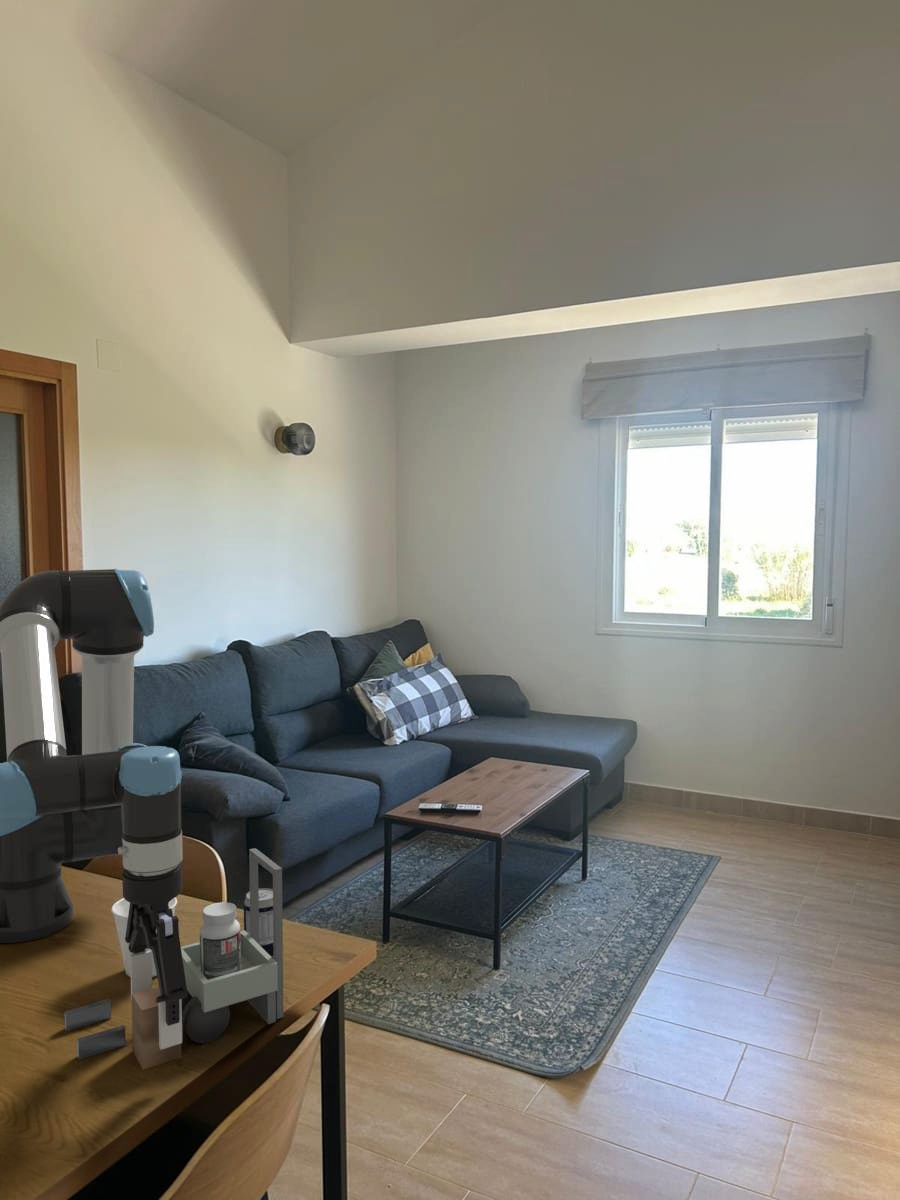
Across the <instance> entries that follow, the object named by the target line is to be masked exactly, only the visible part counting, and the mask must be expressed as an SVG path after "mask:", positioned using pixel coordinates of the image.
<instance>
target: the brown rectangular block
mask: <svg viewBox="0 0 900 1200" xmlns="http://www.w3.org/2000/svg"><path fill="white" fill-rule="evenodd" d="M159 996H161V993H160V988H159V985H157V986H155V987H152V988H151V989H147V990H144V991H140V992H136V993H133V994H132V1000H131V1020H132V1021H131V1028H132V1031H131V1033H132V1053H133V1054H134V1056H135V1057H136V1060H137V1062H138V1063H139V1065H140V1067H141V1069H142V1070H146V1069H149V1068H152V1067H155V1066H159V1065H161V1064H164V1063H167V1062H170V1061H174V1060H176V1059H179V1058H182V1043H180V1044H177V1045H174V1046H171V1047H168V1048H165V1049H162V1050H161V1049H160V1047H159V1009H158V1003H156V1000H155V999H156V998H157V997H159Z"/></svg>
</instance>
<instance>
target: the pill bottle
mask: <svg viewBox="0 0 900 1200" xmlns="http://www.w3.org/2000/svg"><path fill="white" fill-rule="evenodd" d="M237 915H238V914H237V906H236V904H234V903H232V902H226V901H225V902H224V901H223V902H215V903H212V904H209V905H207V906H205V907H204V908H203V910H202V920H203V921H204V923H203V924H202V925H201V926H200V928H199V942H200V971H201V972H202V974H203V975H204V976H205V977H206V979H207V980H209V979H213V978H216V977H220V976H223V975H227V974H230V973H234V972H237V971H241V940H240V938H241V937H240V931H241V925H240V922H239V921H238V920H237V919H236V917H237Z"/></svg>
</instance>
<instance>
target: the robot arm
mask: <svg viewBox="0 0 900 1200" xmlns="http://www.w3.org/2000/svg"><path fill="white" fill-rule="evenodd" d="M154 619H155V617H154V609H153V605H152V598H151V594H150V590H149V586H148V583H147V580H146V578H145V576H144V575H143V574H142V573H141V572H140V571H139V570H132V569H127V570H126V569H118V568H112V569H110V568H109V569H82V570H81V569H78V570H76V569H74V570H59V569H57V570H55V569H54V570H44V571H41V572H37V573H35V574H32V575H30V576H29V577H26V578H24V579H23V580H22V581H20V582H19V583H18V584H16V585H15V586H13V588H11V590H10V591H9V592H8V593H7V594H6V595H5V597H3V599H2V601H1V602H0V659H1V673H2V676H1V677H2V694H3V695H2V696H3V709H4V710H3V712H4V713H3V714H4V726H5V727H4V728H5V729H4V730H5V744H6V745H5V747H6V748H5V749H6V761H5V762H0V944H14V943H15V944H16V943H24V942H29V941H35V940H39V939H42V938H45V937H48V936H52V935H54V934H55V933H59V932H61V931H62V930H63V929H64V928H65V929H66V928H67V927H68V926H69V925H70V924H71V923H72V922H73V919H74V906H73V905H74V904H73V902H72V900H71V897H70V894H69V892H68V889H67V887H66V885H65V883H64V880H63V876H62V864H65V863H69V862H77V861H83V860H91V859H94V858H95V859H97V858H101V857H109V856H120V855H121V856H122V858H121V859H122V867H123V868H124V870H123V871H122V874H121V875H122V877H121V878H122V881H121V882H122V897H123V898H124V899H125V900H126V901H128V902H130V907H129V914H128V921H127V929H126V937H125V941H126V943H129V951H130V953H132V952H133V954H131V955H130V970H131V977H130V999H131V1001H132V994H133V993H136V992H140V991H144V990H147V989H151V988H153V977H152V957H151V951H150V950H147V951H145V949H147V948H149V949H151V950H152V953H153V958H154V963H155V968H156V973H157V976H156V977H157V982H158V986H159V988H160V993H161V996H159V997H157V998H156V999H155V1000H156V1003H158V1009H159V1047H160V1049H161V1050H162V1049H165V1048H168V1047H171V1046H174V1045H177V1044H180V1043H181V1044H182V1043H183V1025H182V998H186V997H187V996H188V991H187V986H186V979H185V973H184V966H183V959H182V952H181V947H182V946H181V941H180V939H181V938H180V929H179V927H180V926H179V922H180V920H179V918H178V916H177V915H174V916H173V913H172V909H171V908H170V909H169V906H168V903H169V902H170V901H171V900H172V899H173V898H174V897H176V898H177V897H178V896H179V895H180V894H181V893H182V891H183V865H182V864H181V862H182V860H183V857H184V856H183V830H182V791H181V790H182V778H183V772H182V770H181V760H180V754H179V751H178V750H176V749H175V748H173V747H168V746H164V745H163V746H161V745H145V744H143V743H137V742H134V701H135V700H134V698H135V697H134V693H135V692H134V691H135V655H136V654H138V653H140V651H141V650H142V649H143V648H144V639H145V638H148V637H149V636H152V635H153V634H154V632H155V630H154V629H155V620H154ZM144 637H145V638H144ZM60 640H62V641H63V640H72V645H71V646H72V649H73V650H74V651H75V652H76V653H78V654H79V655H80V656H81V754H75V755H73V754H72V755H68V754H67V745H66V737H65V736H66V735H65V729H64V719H63V711H62V710H63V709H62V704H61V703H62V702H61V693H60V686H59V685H60V684H59V679H58V677H59V676H58V669H57V668H58V667H57V666H58V665H57V661H56V652H55V648H56V647H57V644H58V643H59V641H60Z"/></svg>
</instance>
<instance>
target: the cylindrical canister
mask: <svg viewBox="0 0 900 1200" xmlns="http://www.w3.org/2000/svg"><path fill="white" fill-rule="evenodd" d="M258 891H259V945H260V946H261V947H262V948H263V949H264V950H265V951H266V952H267V953H268V954H269V955H270V956H271V957H272V958H273V959H274V945H273V888H264V887H263V888H258ZM245 897H246V898H245V900H244V902H243V931H244V930H245V931H246V932H247V933H248V934H249V935H250V891H248V892H247V893H246V894H245Z"/></svg>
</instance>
